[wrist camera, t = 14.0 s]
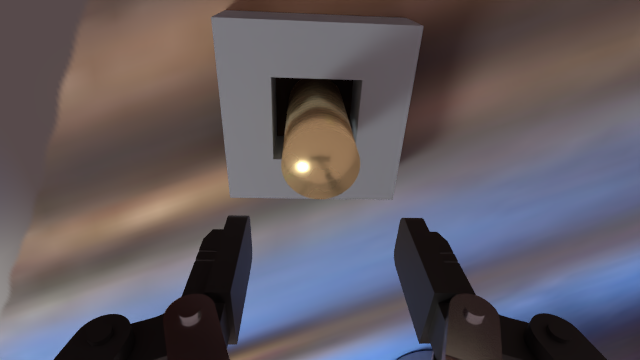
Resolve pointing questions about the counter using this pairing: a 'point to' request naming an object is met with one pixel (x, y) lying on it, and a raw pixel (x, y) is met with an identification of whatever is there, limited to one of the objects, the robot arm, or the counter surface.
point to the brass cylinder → (318, 141)
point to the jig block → (315, 63)
